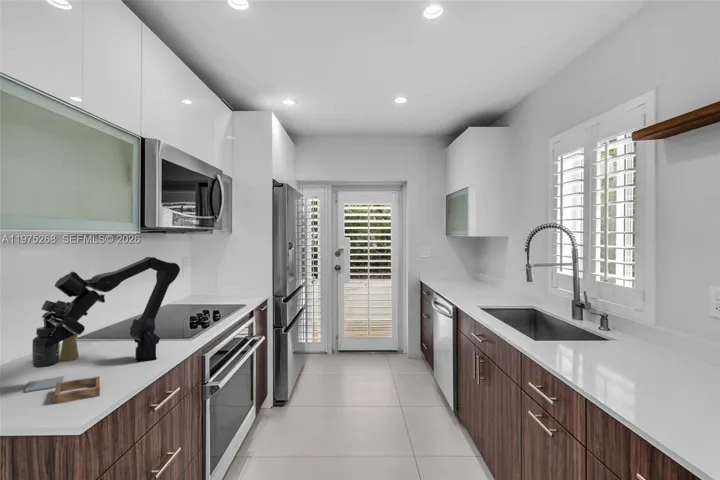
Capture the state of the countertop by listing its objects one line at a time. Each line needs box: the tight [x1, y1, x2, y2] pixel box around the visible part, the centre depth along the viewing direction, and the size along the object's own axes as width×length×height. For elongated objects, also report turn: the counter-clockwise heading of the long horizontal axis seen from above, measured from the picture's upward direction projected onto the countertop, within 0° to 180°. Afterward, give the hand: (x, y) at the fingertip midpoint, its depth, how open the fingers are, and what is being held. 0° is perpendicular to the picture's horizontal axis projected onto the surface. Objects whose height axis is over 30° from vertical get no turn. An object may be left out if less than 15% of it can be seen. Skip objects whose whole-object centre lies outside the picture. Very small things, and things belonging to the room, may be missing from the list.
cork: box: [59, 332, 80, 363], centre depth 150 cm, size 6×6×11 cm
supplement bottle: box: [31, 326, 61, 369], centre depth 125 cm, size 7×7×12 cm
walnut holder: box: [53, 375, 101, 405], centre depth 119 cm, size 11×11×2 cm
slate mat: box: [24, 376, 65, 393], centre depth 125 cm, size 9×9×1 cm
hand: (40, 345), depth 124 cm, fingers closed on supplement bottle, 7 cm apart
